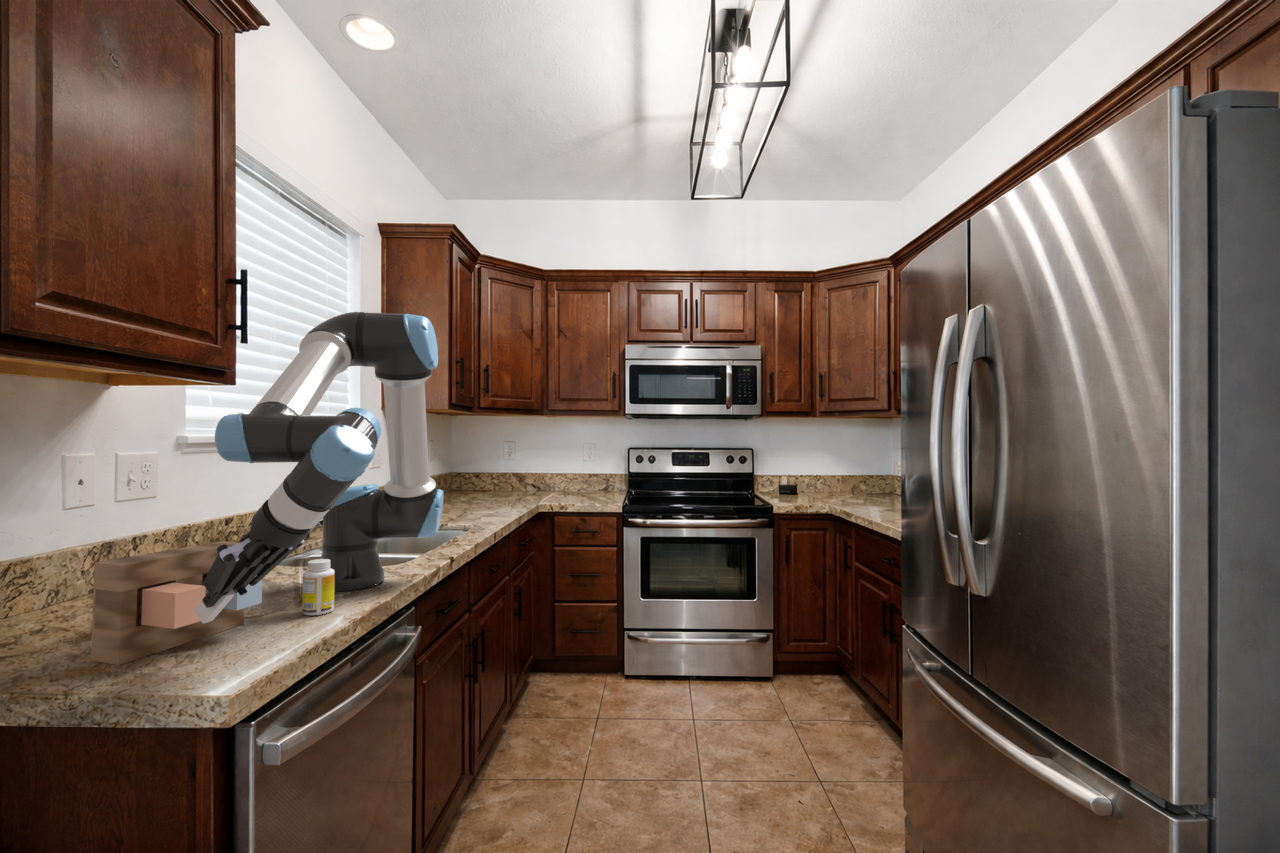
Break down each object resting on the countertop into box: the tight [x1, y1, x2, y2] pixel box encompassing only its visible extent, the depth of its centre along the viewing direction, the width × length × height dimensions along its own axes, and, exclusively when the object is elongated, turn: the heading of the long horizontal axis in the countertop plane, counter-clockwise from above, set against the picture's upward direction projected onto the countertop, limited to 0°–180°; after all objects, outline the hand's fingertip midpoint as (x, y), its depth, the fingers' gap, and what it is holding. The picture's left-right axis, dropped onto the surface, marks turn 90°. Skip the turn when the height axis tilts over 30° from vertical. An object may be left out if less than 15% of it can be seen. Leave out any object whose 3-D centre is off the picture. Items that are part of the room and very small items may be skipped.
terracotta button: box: [141, 583, 206, 629], centre depth 90 cm, size 5×7×5 cm, turn 74°
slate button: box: [206, 575, 263, 610], centre depth 99 cm, size 5×7×5 cm, turn 74°
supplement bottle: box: [301, 558, 335, 617], centre depth 113 cm, size 6×6×10 cm
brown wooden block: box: [90, 540, 245, 666], centre depth 96 cm, size 20×6×15 cm, turn 164°
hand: (203, 615), depth 88 cm, fingers closed
